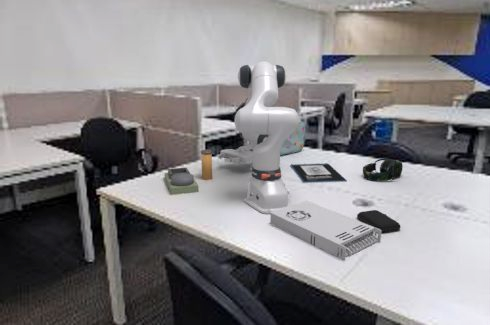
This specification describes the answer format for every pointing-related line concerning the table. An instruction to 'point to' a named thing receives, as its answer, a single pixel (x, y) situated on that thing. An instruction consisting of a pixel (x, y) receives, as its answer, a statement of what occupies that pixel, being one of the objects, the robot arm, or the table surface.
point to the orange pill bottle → (206, 164)
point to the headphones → (383, 170)
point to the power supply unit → (325, 228)
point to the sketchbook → (317, 173)
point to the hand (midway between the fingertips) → (224, 158)
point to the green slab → (180, 181)
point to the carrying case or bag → (378, 220)
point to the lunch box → (294, 140)
